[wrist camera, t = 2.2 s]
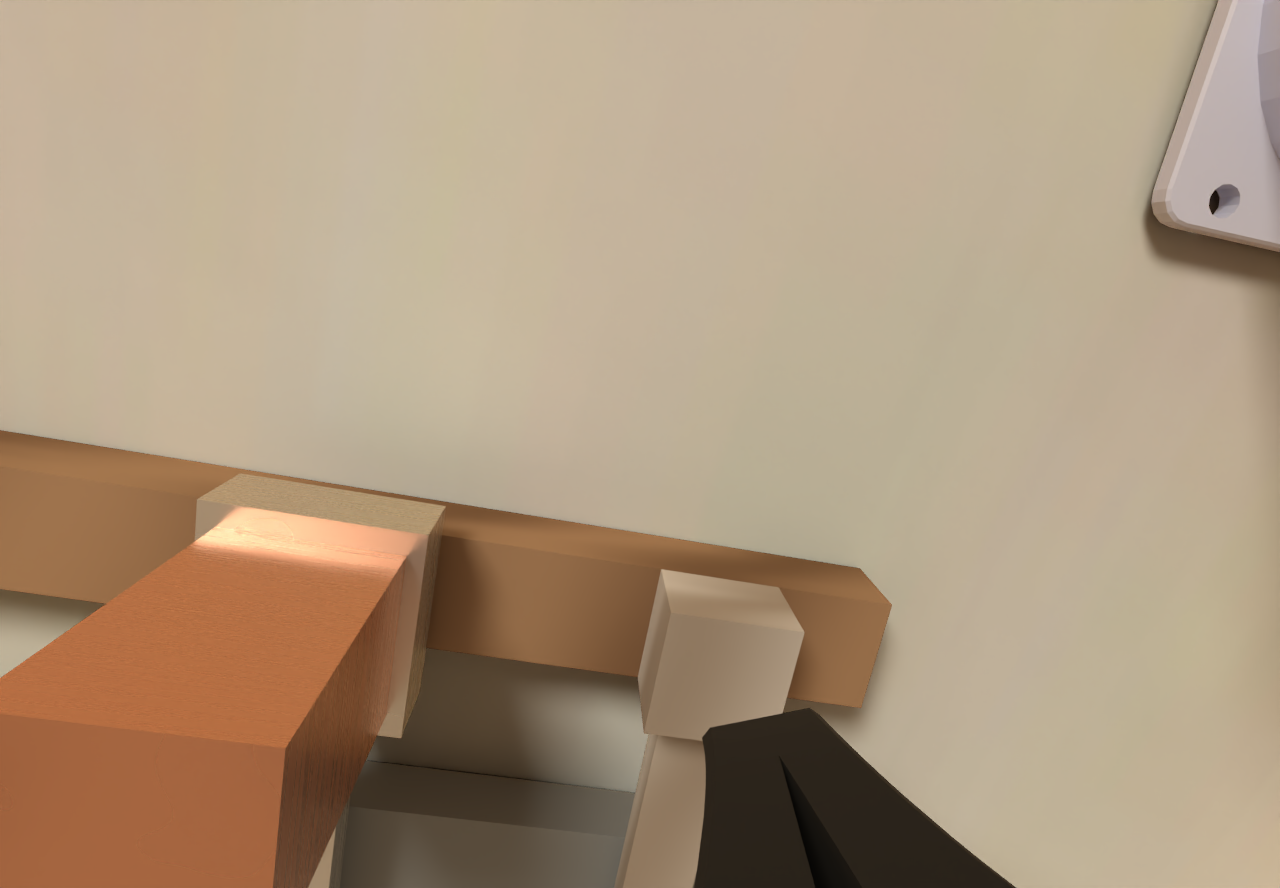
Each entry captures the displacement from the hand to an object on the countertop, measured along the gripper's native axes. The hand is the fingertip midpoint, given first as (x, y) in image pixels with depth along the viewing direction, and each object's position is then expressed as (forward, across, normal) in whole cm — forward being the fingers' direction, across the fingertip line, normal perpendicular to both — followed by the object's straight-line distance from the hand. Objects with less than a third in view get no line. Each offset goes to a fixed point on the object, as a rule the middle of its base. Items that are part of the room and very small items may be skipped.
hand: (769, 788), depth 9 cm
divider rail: (+5, +7, +1) cm, 9 cm away
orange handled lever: (+4, +7, +1) cm, 8 cm away
